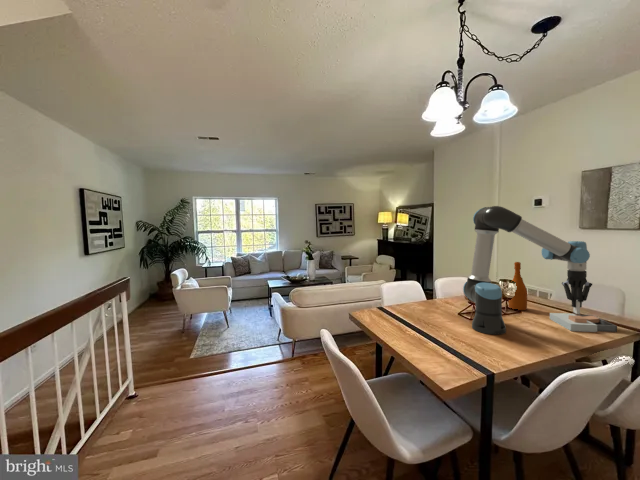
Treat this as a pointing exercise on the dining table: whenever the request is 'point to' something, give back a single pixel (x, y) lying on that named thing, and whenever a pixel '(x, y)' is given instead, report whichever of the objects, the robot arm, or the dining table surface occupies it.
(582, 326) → the board
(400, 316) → the dining table surface
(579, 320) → the tile near
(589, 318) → the tile far
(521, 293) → the wine bottle
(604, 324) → the tray
